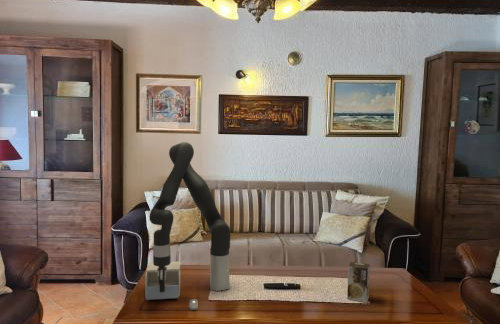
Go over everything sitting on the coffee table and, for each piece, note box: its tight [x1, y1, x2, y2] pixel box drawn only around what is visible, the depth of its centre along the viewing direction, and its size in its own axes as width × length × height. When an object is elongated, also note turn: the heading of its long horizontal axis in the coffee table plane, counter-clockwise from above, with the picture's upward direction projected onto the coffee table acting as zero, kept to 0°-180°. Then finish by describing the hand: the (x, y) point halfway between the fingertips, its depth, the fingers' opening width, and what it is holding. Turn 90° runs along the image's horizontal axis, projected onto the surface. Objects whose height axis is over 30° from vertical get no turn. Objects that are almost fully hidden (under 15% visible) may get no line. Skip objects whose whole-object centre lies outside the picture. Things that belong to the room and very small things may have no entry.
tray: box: [145, 282, 179, 301], centre depth 182 cm, size 14×14×6 cm
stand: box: [189, 298, 199, 312], centre depth 169 cm, size 4×4×4 cm
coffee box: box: [346, 261, 371, 303], centre depth 180 cm, size 9×6×16 cm
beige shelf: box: [144, 261, 181, 297], centre depth 187 cm, size 16×15×12 cm
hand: (162, 291), depth 173 cm, fingers closed
